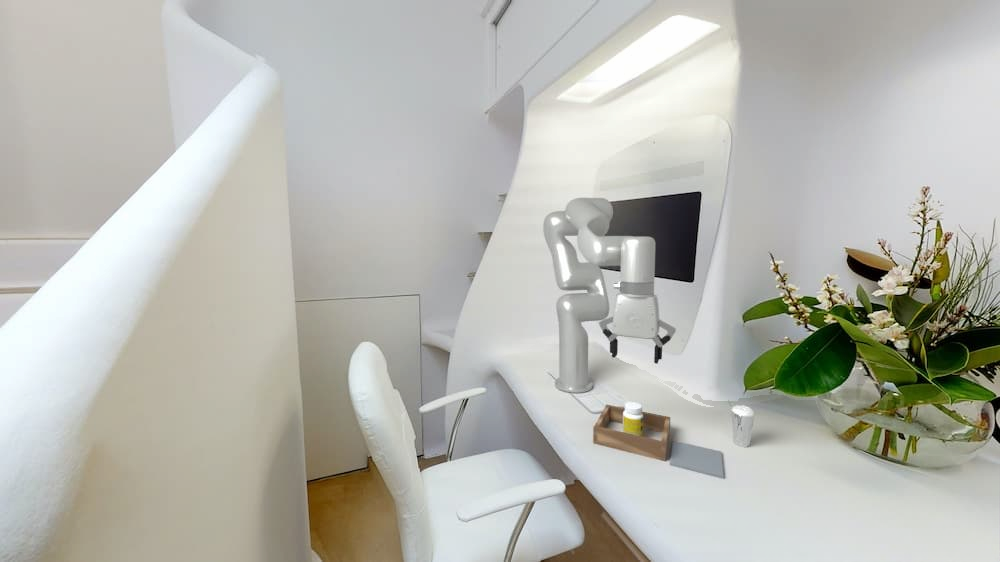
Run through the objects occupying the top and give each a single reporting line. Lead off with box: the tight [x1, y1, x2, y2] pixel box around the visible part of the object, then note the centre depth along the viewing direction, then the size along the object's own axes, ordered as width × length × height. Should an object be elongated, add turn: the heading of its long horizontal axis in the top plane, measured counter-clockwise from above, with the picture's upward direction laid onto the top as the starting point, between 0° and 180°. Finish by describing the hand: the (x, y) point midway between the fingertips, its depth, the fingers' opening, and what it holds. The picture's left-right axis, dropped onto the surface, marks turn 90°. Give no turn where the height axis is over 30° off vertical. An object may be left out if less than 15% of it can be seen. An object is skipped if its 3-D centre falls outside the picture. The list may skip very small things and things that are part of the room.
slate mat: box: [669, 440, 725, 479], centre depth 81 cm, size 10×10×1 cm
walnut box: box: [592, 404, 671, 462], centre depth 90 cm, size 14×16×4 cm
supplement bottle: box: [622, 401, 644, 437], centre depth 90 cm, size 5×5×8 cm
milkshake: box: [727, 399, 755, 448], centre depth 87 cm, size 4×5×10 cm
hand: (635, 358), depth 88 cm, fingers open, 9 cm apart
